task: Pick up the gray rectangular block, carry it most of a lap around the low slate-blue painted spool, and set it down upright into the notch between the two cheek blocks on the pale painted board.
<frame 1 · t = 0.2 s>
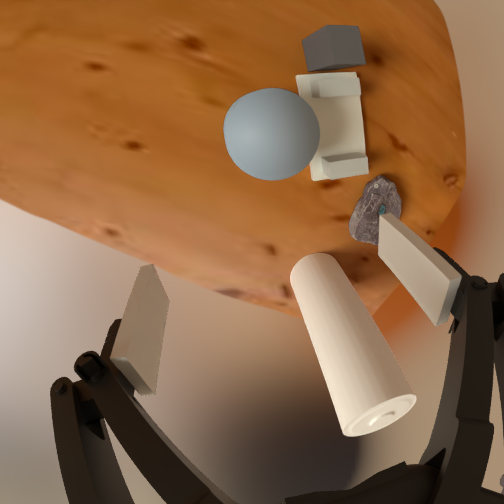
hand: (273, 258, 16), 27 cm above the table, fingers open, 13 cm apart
spool: (262, 128, 37), on the table
cylinder container: (314, 274, 51), on the table
gray rectangular block: (318, 55, 32), on the table
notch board: (333, 124, 38), on the table
rock: (370, 207, 46), on the table
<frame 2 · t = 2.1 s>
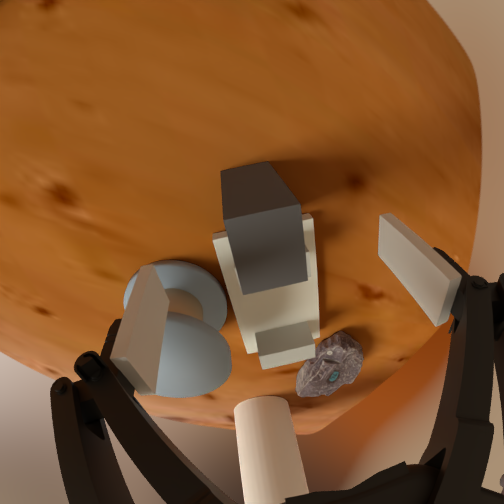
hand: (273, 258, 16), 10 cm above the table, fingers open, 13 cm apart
spool: (175, 303, 29), on the table
cylinder container: (261, 408, 43), on the table
gray rectangular block: (249, 193, 24), on the table
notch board: (273, 290, 30), on the table
rock: (326, 357, 38), on the table
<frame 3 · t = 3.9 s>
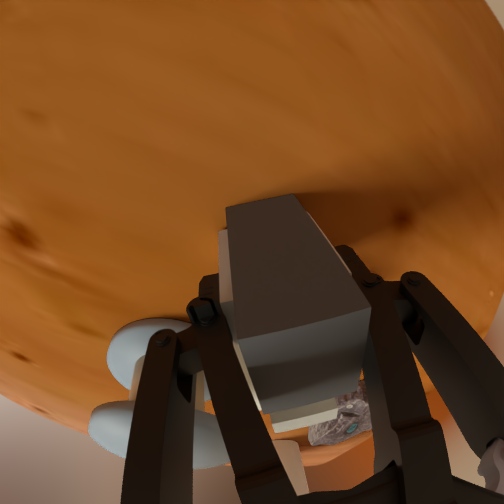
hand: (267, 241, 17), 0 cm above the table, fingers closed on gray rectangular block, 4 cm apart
spool: (170, 363, 23), on the table
cylinder container: (268, 449, 37), on the table
gray rectangular block: (266, 237, 18), on the table, touching gripper
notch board: (291, 348, 23), on the table
rock: (343, 403, 31), on the table
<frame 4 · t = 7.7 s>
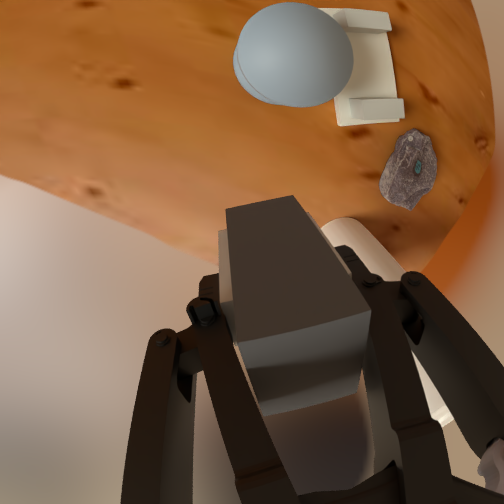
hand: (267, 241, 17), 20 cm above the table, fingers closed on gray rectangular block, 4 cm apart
spool: (280, 62, 28), on the table
cylinder container: (339, 245, 42), on the table
gray rectangular block: (266, 239, 18), point 19 cm above the table, touching gripper
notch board: (359, 65, 28), on the table
rock: (402, 167, 36), on the table
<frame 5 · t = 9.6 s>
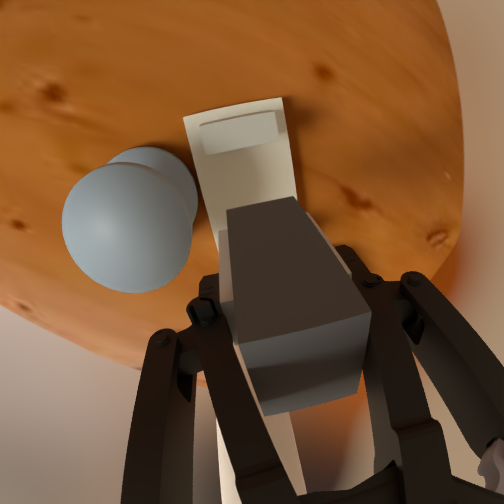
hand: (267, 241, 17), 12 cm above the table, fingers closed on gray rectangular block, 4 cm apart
spool: (145, 198, 27), on the table
cylinder container: (244, 357, 41), on the table
gray rectangular block: (266, 239, 18), point 12 cm above the table, touching gripper
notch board: (247, 183, 28), on the table
when the fingers open (3 cm above the table, at t = 11.5 s): gray rectangular block drops 1 cm, resting on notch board.
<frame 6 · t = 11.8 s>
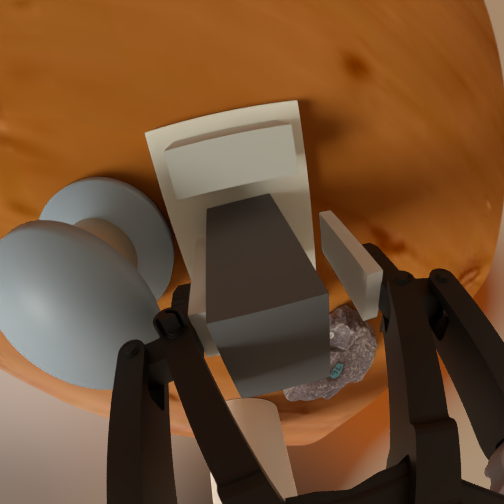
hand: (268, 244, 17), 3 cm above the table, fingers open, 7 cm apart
spool: (103, 249, 19), on the table
cylinder container: (241, 413, 33), on the table
gray rectangular block: (246, 235, 19), point 1 cm above the table, touching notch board
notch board: (244, 227, 20), on the table
rock: (325, 345, 28), on the table
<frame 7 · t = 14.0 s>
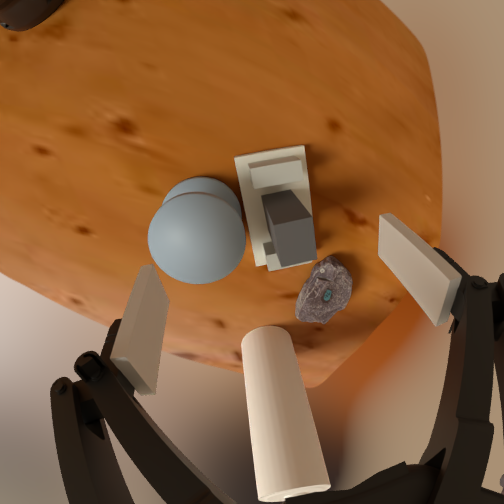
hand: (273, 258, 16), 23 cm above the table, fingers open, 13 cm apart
spool: (201, 215, 38), on the table
cylinder container: (266, 342, 52), on the table
gray rectangular block: (279, 209, 38), point 1 cm above the table, touching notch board
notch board: (277, 206, 39), on the table
rock: (321, 285, 47), on the table
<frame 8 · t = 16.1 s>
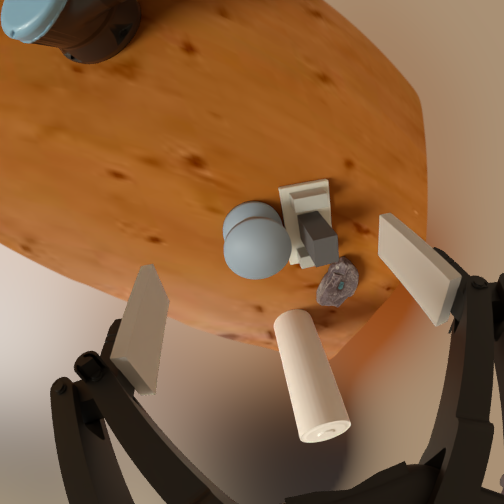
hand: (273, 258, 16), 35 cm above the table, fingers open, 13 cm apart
spool: (252, 228, 53), on the table
cylinder container: (292, 323, 67), on the table
gray rectangular block: (309, 224, 53), point 1 cm above the table, touching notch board
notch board: (307, 222, 54), on the table
rock: (335, 278, 62), on the table
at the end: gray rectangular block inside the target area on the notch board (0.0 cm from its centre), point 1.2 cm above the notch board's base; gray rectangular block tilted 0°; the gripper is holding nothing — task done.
